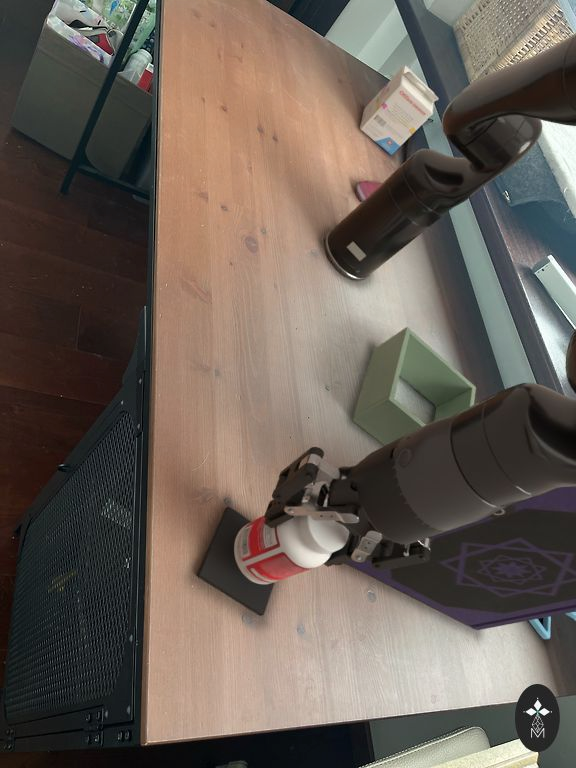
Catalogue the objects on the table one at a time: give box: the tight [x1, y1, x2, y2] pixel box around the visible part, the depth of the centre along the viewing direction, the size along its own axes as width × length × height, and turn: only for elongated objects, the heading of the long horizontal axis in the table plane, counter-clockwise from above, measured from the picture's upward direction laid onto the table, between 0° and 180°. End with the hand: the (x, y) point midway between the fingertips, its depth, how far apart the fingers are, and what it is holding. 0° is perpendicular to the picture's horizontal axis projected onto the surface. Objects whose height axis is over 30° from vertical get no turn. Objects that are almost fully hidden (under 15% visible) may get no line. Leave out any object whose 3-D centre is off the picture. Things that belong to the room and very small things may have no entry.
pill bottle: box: [234, 498, 350, 584], centre depth 57 cm, size 6×6×11 cm
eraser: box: [354, 180, 383, 203], centre depth 112 cm, size 11×4×2 cm, turn 117°
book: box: [345, 487, 576, 631], centre depth 66 cm, size 24×6×30 cm, turn 77°
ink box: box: [359, 64, 439, 156], centre depth 120 cm, size 9×8×13 cm
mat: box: [196, 506, 276, 617], centre depth 63 cm, size 8×8×1 cm
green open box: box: [352, 326, 477, 446], centre depth 87 cm, size 15×15×7 cm
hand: (298, 536), depth 57 cm, fingers closed on pill bottle, 6 cm apart
